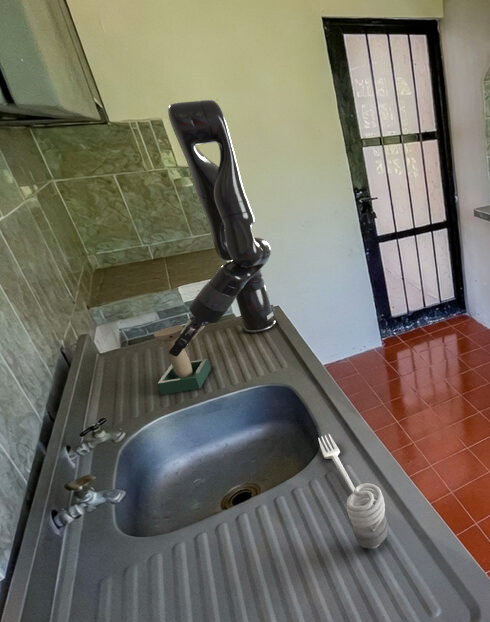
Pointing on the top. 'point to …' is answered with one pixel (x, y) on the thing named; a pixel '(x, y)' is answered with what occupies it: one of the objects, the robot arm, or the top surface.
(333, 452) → the fork
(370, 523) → the light bulb
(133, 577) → the top surface
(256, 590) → the top surface
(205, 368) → the socket
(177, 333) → the handle
